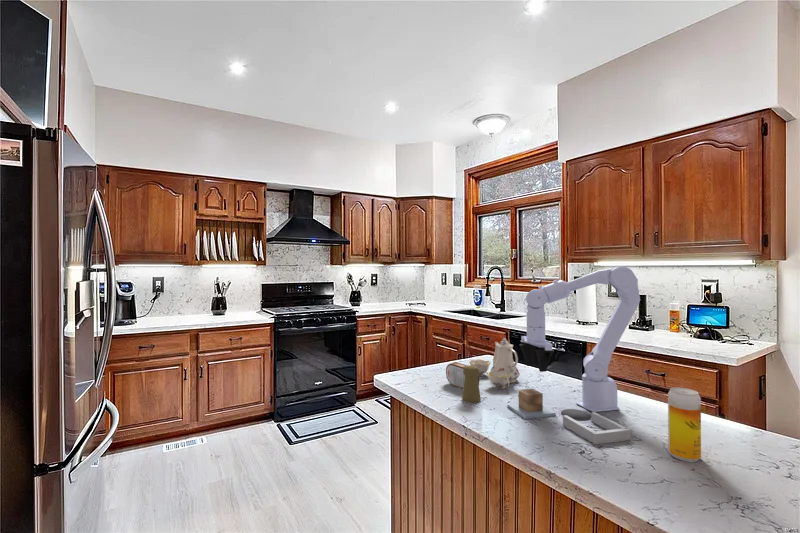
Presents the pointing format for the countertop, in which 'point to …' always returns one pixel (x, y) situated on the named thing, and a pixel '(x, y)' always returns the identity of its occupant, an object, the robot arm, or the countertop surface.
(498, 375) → the chinaware
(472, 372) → the olive waisted block
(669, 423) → the beer can
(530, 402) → the walnut cube
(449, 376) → the tin
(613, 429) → the grey flat u-shaped piece
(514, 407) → the board
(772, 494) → the countertop surface
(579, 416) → the hole mat
